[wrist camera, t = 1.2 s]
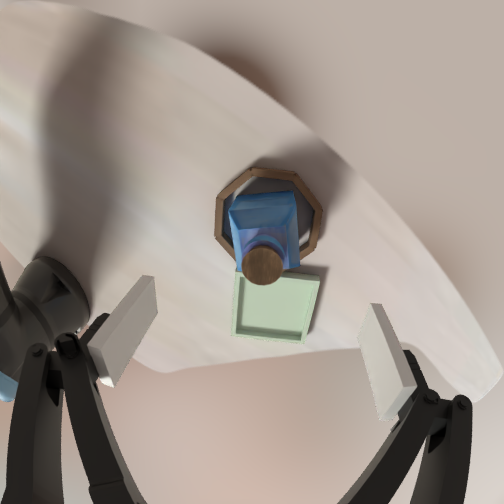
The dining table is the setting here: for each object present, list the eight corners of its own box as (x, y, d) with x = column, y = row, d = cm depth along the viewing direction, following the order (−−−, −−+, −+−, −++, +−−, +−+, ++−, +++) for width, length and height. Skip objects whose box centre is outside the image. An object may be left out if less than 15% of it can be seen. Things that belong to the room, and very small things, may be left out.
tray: (232, 329, 39) (230, 336, 38) (236, 265, 35) (235, 271, 34) (303, 337, 39) (304, 344, 37) (318, 275, 35) (320, 281, 33)
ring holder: (215, 258, 35) (213, 264, 34) (220, 164, 30) (218, 165, 29) (309, 270, 34) (310, 275, 33) (325, 176, 30) (328, 178, 28)
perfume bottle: (237, 195, 31) (215, 232, 21) (292, 190, 31) (300, 225, 20) (244, 246, 34) (228, 303, 23) (296, 242, 33) (304, 299, 22)
